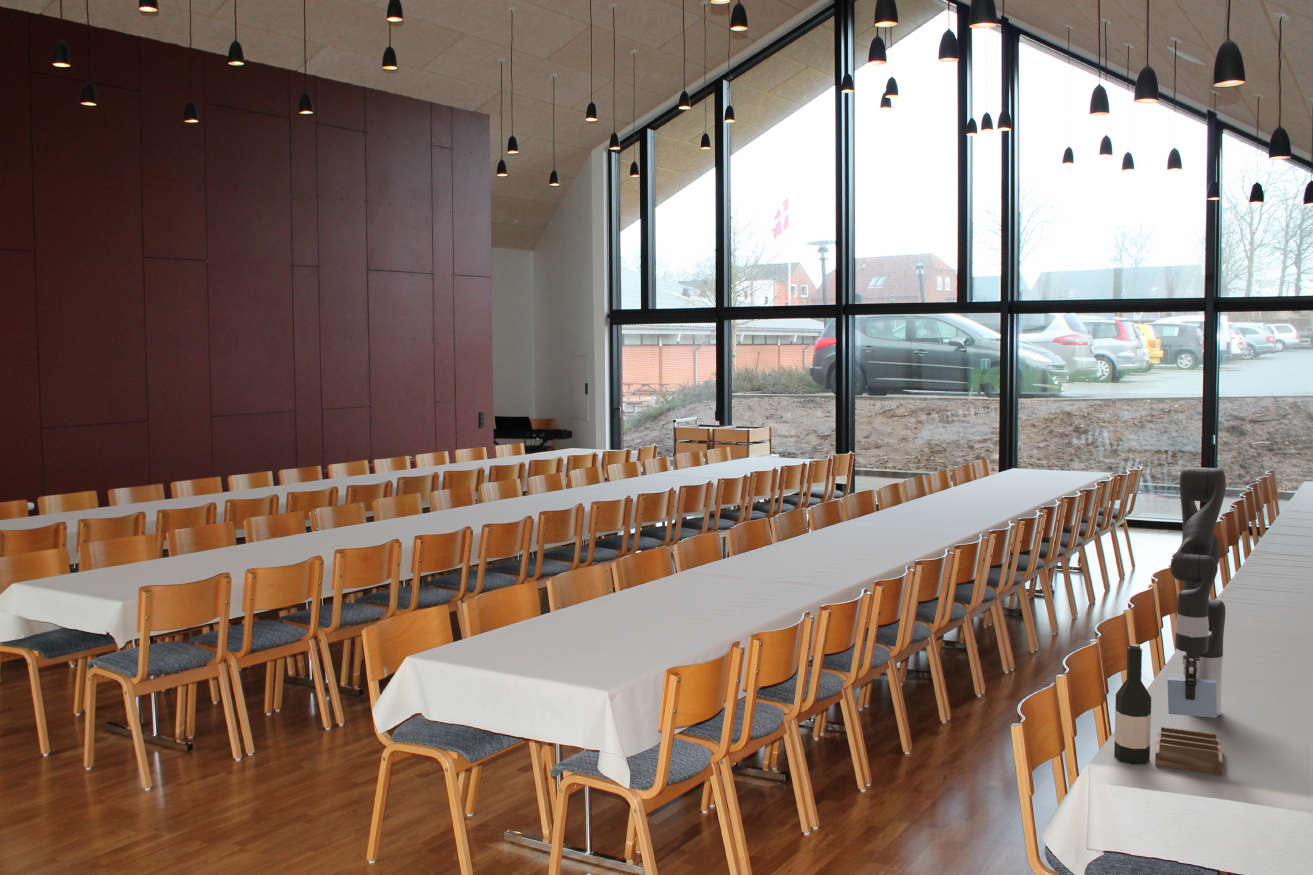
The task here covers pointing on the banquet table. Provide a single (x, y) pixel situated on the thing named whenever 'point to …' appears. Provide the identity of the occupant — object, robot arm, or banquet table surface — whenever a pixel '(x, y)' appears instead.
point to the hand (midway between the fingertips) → (1190, 697)
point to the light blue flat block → (1198, 707)
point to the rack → (1189, 750)
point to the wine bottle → (1133, 714)
